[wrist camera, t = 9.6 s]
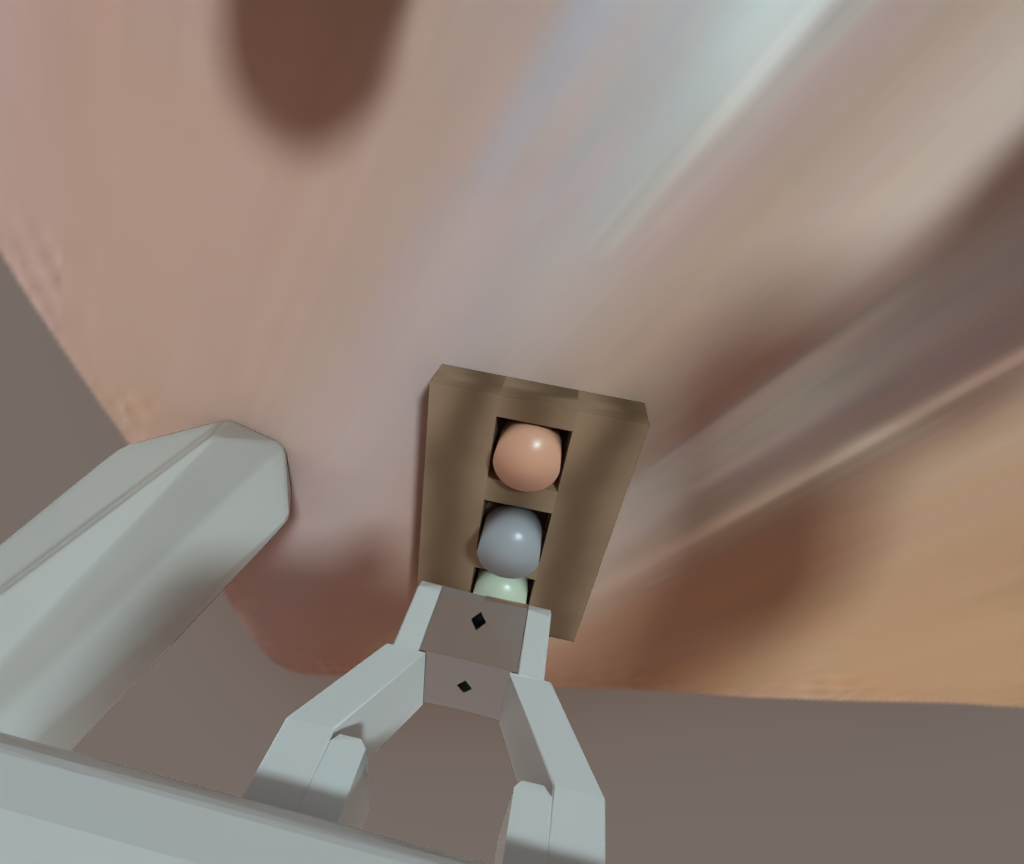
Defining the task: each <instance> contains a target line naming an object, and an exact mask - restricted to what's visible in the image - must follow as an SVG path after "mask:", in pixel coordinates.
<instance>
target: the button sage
mask: <svg viewBox="0 0 1024 864" xmlns="http://www.w3.org/2000/svg"><path fill="white" fill-rule="evenodd" d="M528 585H529V578H524V577H522V578H516V579H509V578H503V577H499V576H496V575H494V574H492V573H490V572H489V571H488V570H486V569H482V568H479V572H478V576H477V580H476V584H475V587H474V591H473V593H474V594H478V595H482V596H491V597H495V598H500V599H505V600H510V601H514V602H519V603H524V604H526V600H527V592H528Z"/></svg>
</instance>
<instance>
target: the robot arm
mask: <svg viewBox="0 0 1024 864" xmlns="http://www.w3.org/2000/svg"><path fill="white" fill-rule="evenodd" d="M550 622H551V611H550V610H549V609H544V608H539V607H535V606H530V605H529V606H528V604H524V603H519V602H514V601H510V600H505V599H500V598H495V597H491V596H482V595H478V594H474V593H470V592H466V591H462V590H458V589H455V588H451V587H447V586H443V585H439V584H434V583H430V582H426V581H422V582H421V583H420V584H419V586H418V587H417V590H416V592H415V594H414V597H413V599H412V601H411V604H410V606H409V608H408V611H407V613H406V615H405V618H404V620H403V622H402V625H401V627H400V629H399V632H398V634H397V636H396V639H395V641H394V644H389V643H386V644H385V645H383V646H382V647H381V648H379V649H378V650H377V651H375V652H374V653H373V654H371V655H370V656H369V657H367V658H366V659H365V660H363V661H362V662H361V663H359V664H358V665H357V666H355V667H354V668H353V669H351V670H350V671H349V672H347V673H346V674H345V675H343V676H342V677H341V678H339V679H338V680H336V681H335V682H334V683H332V684H331V685H330V686H328V687H327V688H326V689H325V690H323V691H322V692H320V693H319V694H318V695H316V696H315V697H314V698H312V699H311V700H310V701H308V702H307V703H306V704H304V705H303V706H302V707H300V708H299V709H298V710H296V711H295V712H294V713H292V714H291V715H290V716H288V717H287V718H286V720H285V722H284V723H283V725H282V727H281V729H280V731H279V732H278V734H277V736H276V738H275V739H274V741H273V743H272V745H271V746H270V748H269V750H268V752H267V754H266V755H265V757H264V759H263V761H262V763H261V764H260V766H259V768H258V770H257V771H256V773H255V775H254V777H253V778H252V780H251V782H250V784H249V786H248V787H247V789H246V791H245V793H244V794H243V796H242V797H239V796H235V795H232V794H228V793H224V792H220V791H217V790H213V789H210V788H206V787H202V786H198V785H195V784H191V783H187V782H183V781H180V780H176V779H172V778H169V777H165V776H161V775H158V774H154V773H150V772H146V771H143V770H139V769H135V768H132V767H128V766H124V765H120V764H116V763H113V762H109V761H106V760H102V759H98V758H94V757H91V756H87V755H83V754H80V753H76V752H72V751H69V750H65V749H61V748H58V747H54V746H50V745H46V744H43V743H39V742H35V741H32V740H28V739H24V738H20V737H17V736H13V735H9V734H6V733H2V732H0V864H487V863H484V862H480V861H476V860H472V859H469V858H465V857H462V856H458V855H454V854H450V853H447V852H443V851H439V850H435V849H432V848H428V847H424V846H421V845H416V844H413V843H409V842H406V841H402V840H398V839H395V838H391V837H387V836H384V835H380V834H376V833H373V832H368V831H365V830H362V827H363V824H364V821H365V818H366V815H367V812H368V809H369V806H370V802H369V788H368V774H367V761H368V760H369V759H370V758H371V757H372V756H373V755H374V754H375V753H376V752H377V751H378V750H379V749H380V748H381V747H382V746H383V745H384V744H385V743H386V742H387V741H388V740H389V739H390V738H391V737H392V736H393V734H395V733H396V731H398V729H399V728H400V727H401V726H402V725H403V724H404V723H405V722H406V721H407V720H408V719H409V718H410V717H411V716H412V715H413V714H414V713H415V712H416V711H417V710H418V709H419V708H420V707H421V706H422V705H423V702H426V703H430V704H435V705H440V706H445V707H449V708H453V709H458V710H461V709H462V710H463V711H466V712H470V713H474V714H477V715H481V716H484V717H488V718H492V719H495V720H499V725H500V728H501V732H502V735H503V739H504V742H505V745H506V749H507V752H508V755H509V759H510V762H511V766H512V769H513V772H514V776H515V779H516V782H517V785H516V786H515V787H514V789H513V792H512V796H511V799H510V802H509V806H508V809H507V812H506V816H505V819H504V822H503V825H502V829H501V832H500V835H499V839H498V844H497V850H496V857H495V863H494V864H605V799H604V797H603V794H602V792H601V790H600V788H599V786H598V784H597V782H596V780H595V777H594V775H593V773H592V771H591V769H590V766H589V764H588V762H587V760H586V758H585V755H584V753H583V751H582V749H581V747H580V745H579V742H578V740H577V738H576V736H575V734H574V732H573V729H572V727H571V725H570V723H569V721H568V719H567V716H566V714H565V712H564V710H563V708H562V706H561V703H560V701H559V699H558V697H557V695H556V693H555V690H554V688H553V686H552V684H551V682H548V681H545V680H544V676H545V667H546V658H547V649H548V640H549V631H550Z"/></svg>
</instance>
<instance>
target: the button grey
mask: <svg viewBox="0 0 1024 864" xmlns="http://www.w3.org/2000/svg"><path fill="white" fill-rule="evenodd" d="M542 532H543V527H542V523H541V521H540V519H539V518H538V516H537V515H536V514H535V513H533V512H532V511H531V510H529V509H527V508H522V507H517V506H512V505H502V506H499V507H497V508H495V509H493V510H492V511H491V512H490V513H489V514H488V515H487V517H486V520H485V524H484V527H483V531H482V535H481V538H480V542H479V546H478V549H477V556H478V559H479V561H480V563H481V565H482V566H483V567H484V568H485V569H486V570H488V571H489V572H490V573H492V574H494V575H496V576H499V577H503V578H509V579H516V578H522V577H525V576H527V575H529V574H531V573H532V572H533V571H535V569H536V568H537V566H538V564H539V558H540V549H541V540H542Z"/></svg>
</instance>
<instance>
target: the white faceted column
mask: <svg viewBox="0 0 1024 864" xmlns="http://www.w3.org/2000/svg"><path fill="white" fill-rule="evenodd" d="M290 503H291V484H290V477H289V470H288V464H287V458H286V453H285V449H284V448H283V447H282V446H281V445H280V443H279V442H277V441H275V440H273V439H271V438H268V437H266V436H264V435H262V434H260V433H257V432H255V431H253V430H251V429H248V428H246V427H244V426H242V425H239V424H237V423H235V422H232V421H229V420H223V421H219V422H215V423H211V424H207V425H203V426H199V427H195V428H191V429H187V430H183V431H179V432H175V433H171V434H167V435H163V436H159V437H155V438H152V439H148V440H144V441H140V442H136V443H132V444H129V445H127V446H125V447H123V448H121V449H120V450H118V451H117V452H115V453H114V454H113V455H111V456H110V457H108V458H107V459H106V460H105V461H103V462H102V463H100V464H99V465H98V466H97V467H95V468H94V469H93V470H92V471H91V472H89V473H88V474H87V475H86V476H84V477H83V478H82V479H81V480H79V481H78V482H77V483H76V484H74V485H73V486H72V487H71V488H70V489H68V490H67V491H66V492H65V493H64V494H62V495H61V496H60V497H58V498H57V499H56V500H55V501H54V502H52V503H51V504H50V505H49V506H47V507H46V508H45V509H44V510H43V511H41V512H40V513H39V514H37V515H36V516H35V517H34V518H33V519H31V520H30V521H29V522H28V523H26V524H25V525H24V526H23V527H21V528H20V529H19V530H18V531H17V532H15V533H14V534H13V535H12V536H10V537H9V538H8V539H7V540H5V541H4V542H3V543H2V544H1V545H0V732H2V733H6V734H9V735H13V736H17V737H20V738H24V739H28V740H32V741H35V742H39V743H43V744H46V745H50V746H54V747H58V748H61V749H65V750H69V751H72V750H73V749H74V748H75V747H76V746H77V745H78V744H79V743H80V742H81V740H83V739H84V737H85V736H86V735H87V734H88V733H89V732H90V731H91V730H92V729H93V728H94V727H95V726H96V725H97V724H98V723H99V721H100V720H101V719H102V718H103V717H104V716H105V715H106V714H107V713H108V712H109V711H110V710H111V709H112V708H113V707H114V706H115V705H116V703H117V702H118V701H119V700H120V699H121V698H122V697H123V696H124V695H125V694H126V693H127V692H128V691H129V690H130V688H131V687H132V686H133V685H134V684H135V683H136V682H137V681H138V680H139V679H140V678H141V677H142V676H143V675H144V674H145V673H146V672H147V670H148V669H149V668H150V667H151V666H152V665H153V664H154V663H155V662H156V661H157V660H158V659H159V658H160V657H161V656H162V655H163V653H164V652H165V651H166V650H167V649H168V648H169V647H170V646H171V645H172V644H173V642H175V641H176V640H177V639H178V638H179V636H180V635H181V634H182V633H183V632H184V631H185V630H186V629H187V628H188V627H189V626H190V625H191V624H192V623H193V622H194V621H195V619H196V618H197V617H198V616H199V615H200V614H201V613H202V612H203V611H204V610H205V609H206V608H207V607H208V606H209V605H210V603H211V602H212V601H213V600H214V599H215V598H216V597H217V596H218V595H219V594H220V593H221V592H222V591H223V590H224V589H225V588H226V587H227V585H228V584H229V583H230V582H231V581H232V580H233V579H234V578H235V577H236V576H237V575H238V573H239V572H240V571H241V570H242V569H243V568H244V567H245V566H246V565H247V564H248V563H249V562H250V561H251V560H252V559H253V557H254V556H255V555H256V554H257V553H258V552H259V551H260V550H261V549H262V548H263V547H264V546H265V545H266V544H267V543H268V542H269V541H270V539H271V538H272V537H273V536H274V535H275V534H276V533H277V532H278V531H279V530H280V528H281V527H282V526H283V525H284V524H285V523H286V521H287V520H288V518H289V514H290Z"/></svg>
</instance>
